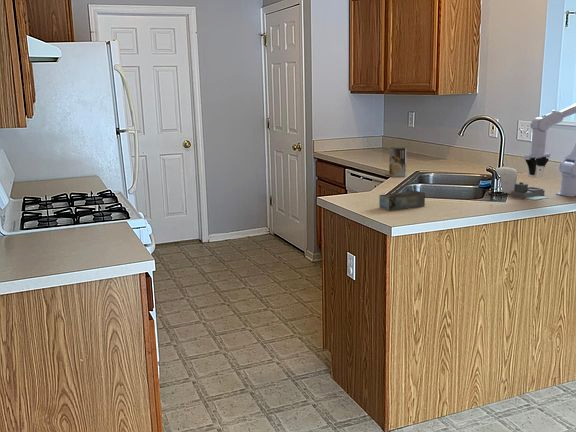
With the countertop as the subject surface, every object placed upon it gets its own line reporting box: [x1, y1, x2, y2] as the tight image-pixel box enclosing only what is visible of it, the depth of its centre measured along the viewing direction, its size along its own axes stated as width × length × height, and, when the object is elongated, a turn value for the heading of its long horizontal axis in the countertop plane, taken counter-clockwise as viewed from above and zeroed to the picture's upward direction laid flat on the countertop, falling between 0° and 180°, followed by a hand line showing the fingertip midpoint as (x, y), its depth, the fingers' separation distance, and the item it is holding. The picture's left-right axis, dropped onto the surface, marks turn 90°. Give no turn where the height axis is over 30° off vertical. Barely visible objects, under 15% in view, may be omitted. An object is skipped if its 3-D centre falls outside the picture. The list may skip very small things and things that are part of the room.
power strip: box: [510, 181, 546, 200], centre depth 265 cm, size 14×7×7 cm, turn 119°
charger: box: [527, 165, 545, 179], centre depth 261 cm, size 4×5×5 cm
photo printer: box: [494, 166, 518, 195], centre depth 272 cm, size 10×4×12 cm, turn 60°
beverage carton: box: [378, 189, 426, 212], centre depth 245 cm, size 8×19×7 cm, turn 115°
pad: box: [524, 195, 549, 201], centre depth 260 cm, size 9×5×1 cm, turn 119°
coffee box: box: [388, 146, 407, 178], centre depth 324 cm, size 9×6×16 cm
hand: (535, 174), depth 262 cm, fingers closed on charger, 4 cm apart
